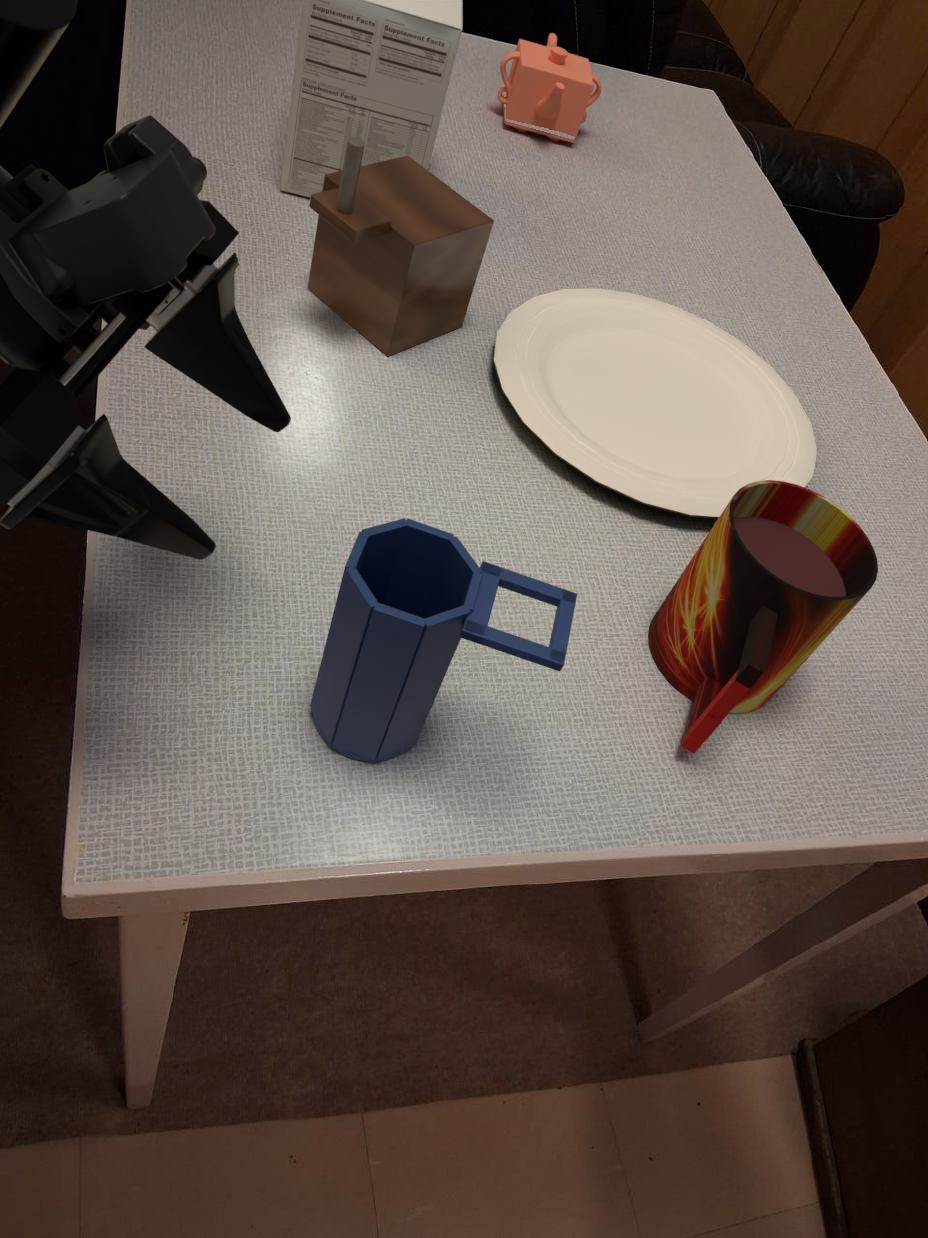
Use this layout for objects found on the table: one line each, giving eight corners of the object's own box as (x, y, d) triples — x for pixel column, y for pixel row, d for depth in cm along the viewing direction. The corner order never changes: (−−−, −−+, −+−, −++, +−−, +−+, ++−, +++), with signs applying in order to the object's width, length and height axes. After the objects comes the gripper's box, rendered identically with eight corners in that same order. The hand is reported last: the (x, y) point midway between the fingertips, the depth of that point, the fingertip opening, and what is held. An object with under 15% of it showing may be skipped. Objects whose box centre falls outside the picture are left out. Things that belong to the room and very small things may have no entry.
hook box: (354, 370, 75) (394, 182, 64) (273, 299, 78) (296, 107, 66) (462, 326, 83) (515, 151, 71) (384, 263, 86) (423, 85, 74)
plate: (520, 266, 91) (527, 248, 90) (803, 371, 93) (813, 355, 92) (453, 453, 72) (460, 434, 71) (811, 581, 74) (824, 565, 72)
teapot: (579, 109, 118) (604, 37, 111) (589, 168, 108) (617, 93, 102) (486, 83, 115) (506, 7, 109) (488, 141, 106) (510, 62, 100)
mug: (673, 762, 60) (768, 649, 51) (637, 592, 68) (713, 469, 59) (810, 775, 62) (925, 669, 53) (758, 608, 70) (849, 492, 61)
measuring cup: (297, 740, 54) (332, 595, 44) (331, 655, 58) (370, 504, 48) (487, 804, 54) (564, 674, 45) (507, 714, 59) (581, 578, 49)
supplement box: (417, 226, 91) (465, 29, 78) (277, 192, 88) (302, -19, 75) (421, 160, 99) (464, -29, 86) (293, 126, 97) (318, -74, 83)
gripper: (-141, 189, 26) (286, 558, 33) (159, -10, 38) (423, 289, 45) (-251, 387, 33) (122, 658, 40) (34, 164, 45) (280, 401, 52)
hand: (249, 485), depth 44 cm, fingers open, 9 cm apart
